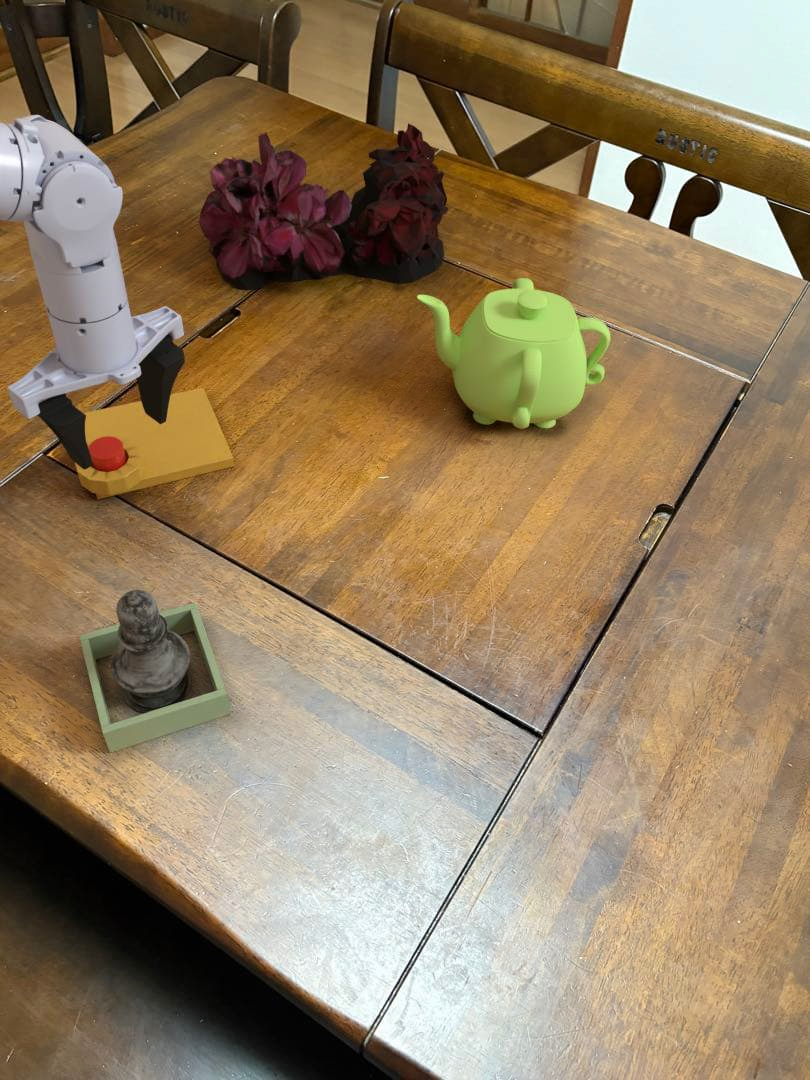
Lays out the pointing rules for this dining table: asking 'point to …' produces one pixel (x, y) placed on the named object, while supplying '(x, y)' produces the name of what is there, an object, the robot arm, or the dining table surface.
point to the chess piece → (149, 655)
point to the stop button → (107, 454)
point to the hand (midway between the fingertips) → (119, 439)
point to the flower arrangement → (326, 218)
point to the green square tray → (166, 717)
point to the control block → (157, 444)
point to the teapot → (519, 355)
